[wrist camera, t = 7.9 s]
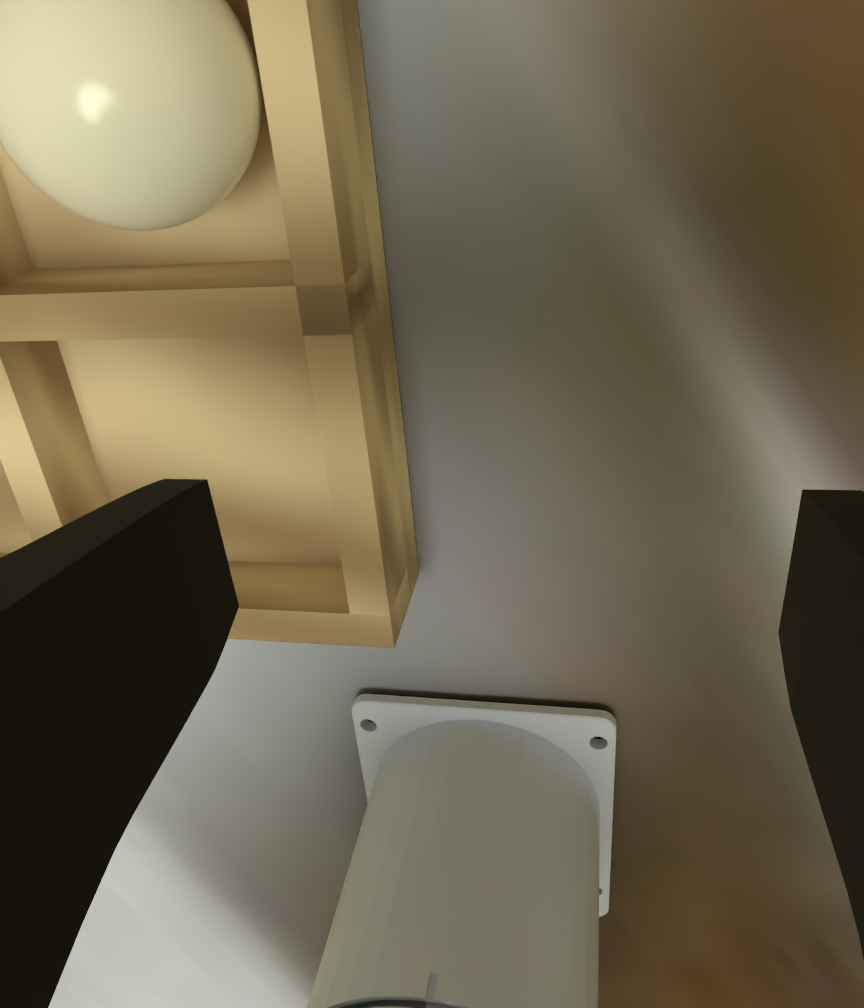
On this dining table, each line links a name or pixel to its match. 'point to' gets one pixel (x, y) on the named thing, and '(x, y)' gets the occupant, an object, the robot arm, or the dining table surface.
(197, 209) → the white egg
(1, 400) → the egg rack
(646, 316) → the dining table surface
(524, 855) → the robot arm
